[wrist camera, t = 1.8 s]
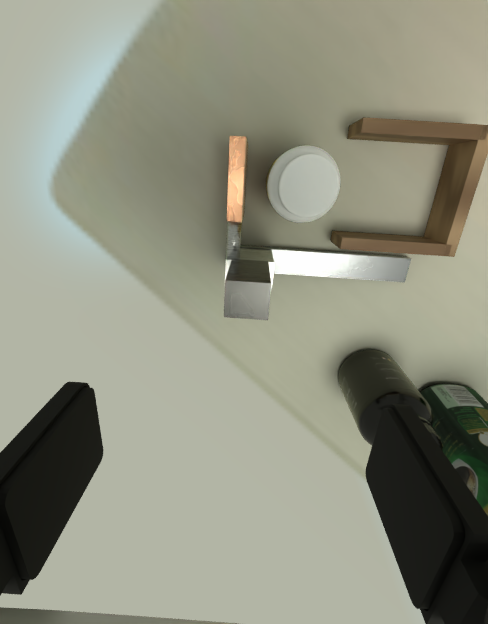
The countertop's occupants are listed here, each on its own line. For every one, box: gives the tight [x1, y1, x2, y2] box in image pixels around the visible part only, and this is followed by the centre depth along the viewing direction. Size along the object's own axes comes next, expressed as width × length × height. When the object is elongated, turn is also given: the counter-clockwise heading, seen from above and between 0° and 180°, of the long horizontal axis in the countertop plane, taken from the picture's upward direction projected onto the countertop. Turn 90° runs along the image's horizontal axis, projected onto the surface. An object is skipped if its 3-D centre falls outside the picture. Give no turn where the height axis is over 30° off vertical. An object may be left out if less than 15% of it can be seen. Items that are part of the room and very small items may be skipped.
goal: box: [331, 118, 488, 257], centre depth 28 cm, size 10×10×4 cm
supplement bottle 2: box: [338, 350, 443, 451], centre depth 32 cm, size 7×7×12 cm
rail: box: [241, 245, 411, 282], centre depth 32 cm, size 2×18×1 cm, turn 87°
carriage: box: [224, 136, 274, 320], centre depth 25 cm, size 12×4×12 cm, turn 177°
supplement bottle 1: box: [266, 145, 341, 223], centre depth 25 cm, size 5×5×10 cm
